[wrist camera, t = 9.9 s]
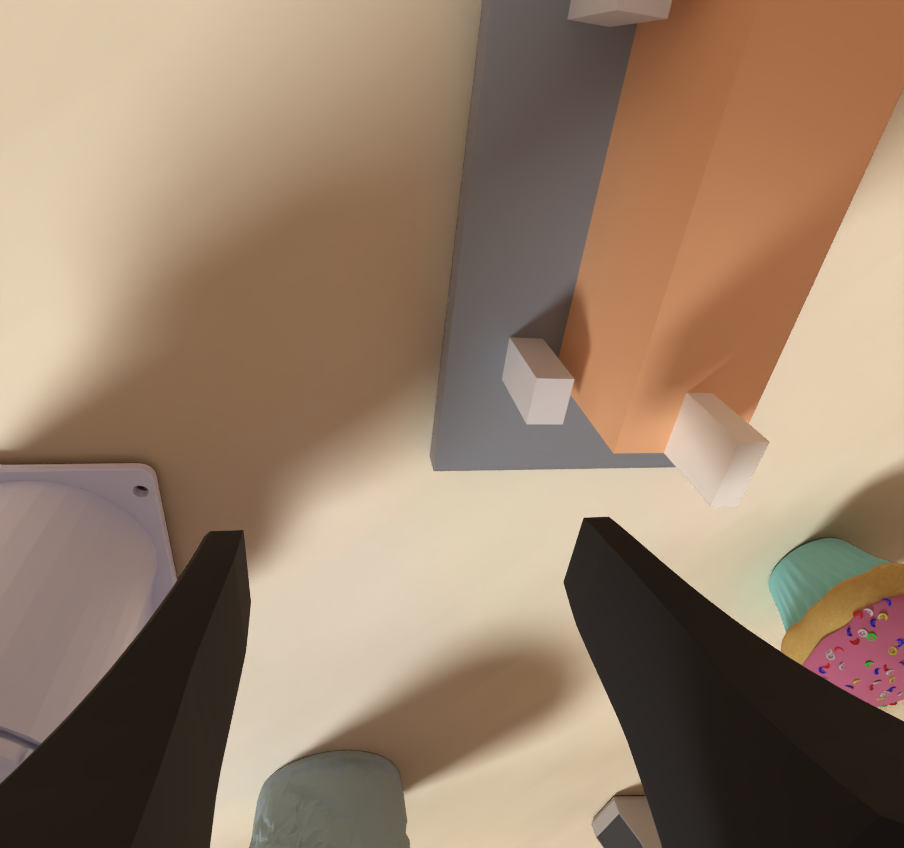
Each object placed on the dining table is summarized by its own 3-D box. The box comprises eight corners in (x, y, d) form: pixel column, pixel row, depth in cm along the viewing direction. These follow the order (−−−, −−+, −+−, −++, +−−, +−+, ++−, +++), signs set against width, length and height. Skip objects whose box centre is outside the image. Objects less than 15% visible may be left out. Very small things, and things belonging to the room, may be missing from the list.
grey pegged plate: (696, 453, 25) (752, 512, 21) (429, 456, 22) (446, 524, 19) (961, -182, 14) (1149, -257, 11) (518, -315, 12) (592, -464, 9)
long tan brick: (654, 375, 21) (790, 504, 15) (554, 373, 20) (654, 508, 14) (794, -33, 15) (1127, -104, 9) (657, -61, 14) (918, -163, 8)
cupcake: (900, 550, 32) (1159, 771, 22) (777, 636, 34) (958, 868, 24) (840, 485, 28) (1124, 719, 18) (704, 588, 30) (886, 842, 20)
